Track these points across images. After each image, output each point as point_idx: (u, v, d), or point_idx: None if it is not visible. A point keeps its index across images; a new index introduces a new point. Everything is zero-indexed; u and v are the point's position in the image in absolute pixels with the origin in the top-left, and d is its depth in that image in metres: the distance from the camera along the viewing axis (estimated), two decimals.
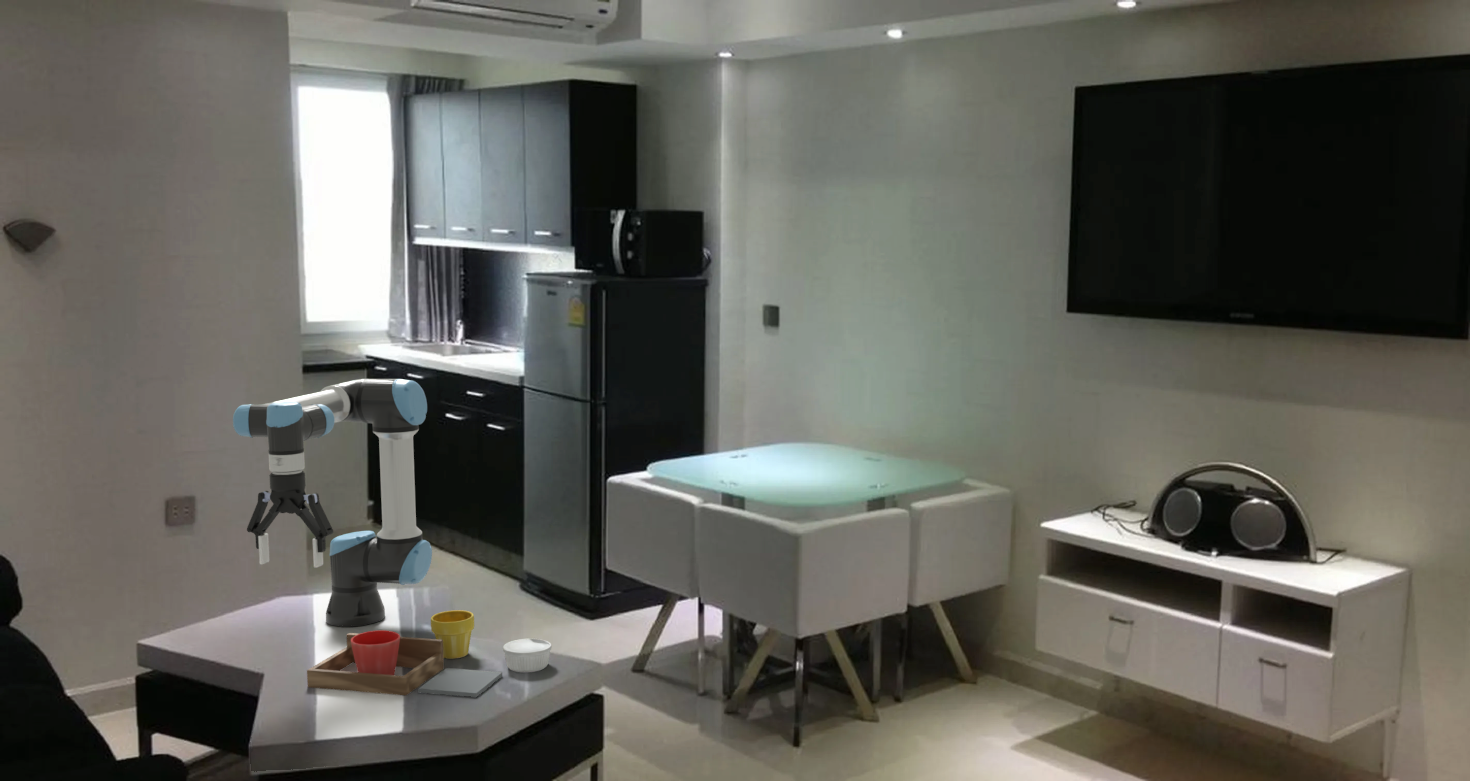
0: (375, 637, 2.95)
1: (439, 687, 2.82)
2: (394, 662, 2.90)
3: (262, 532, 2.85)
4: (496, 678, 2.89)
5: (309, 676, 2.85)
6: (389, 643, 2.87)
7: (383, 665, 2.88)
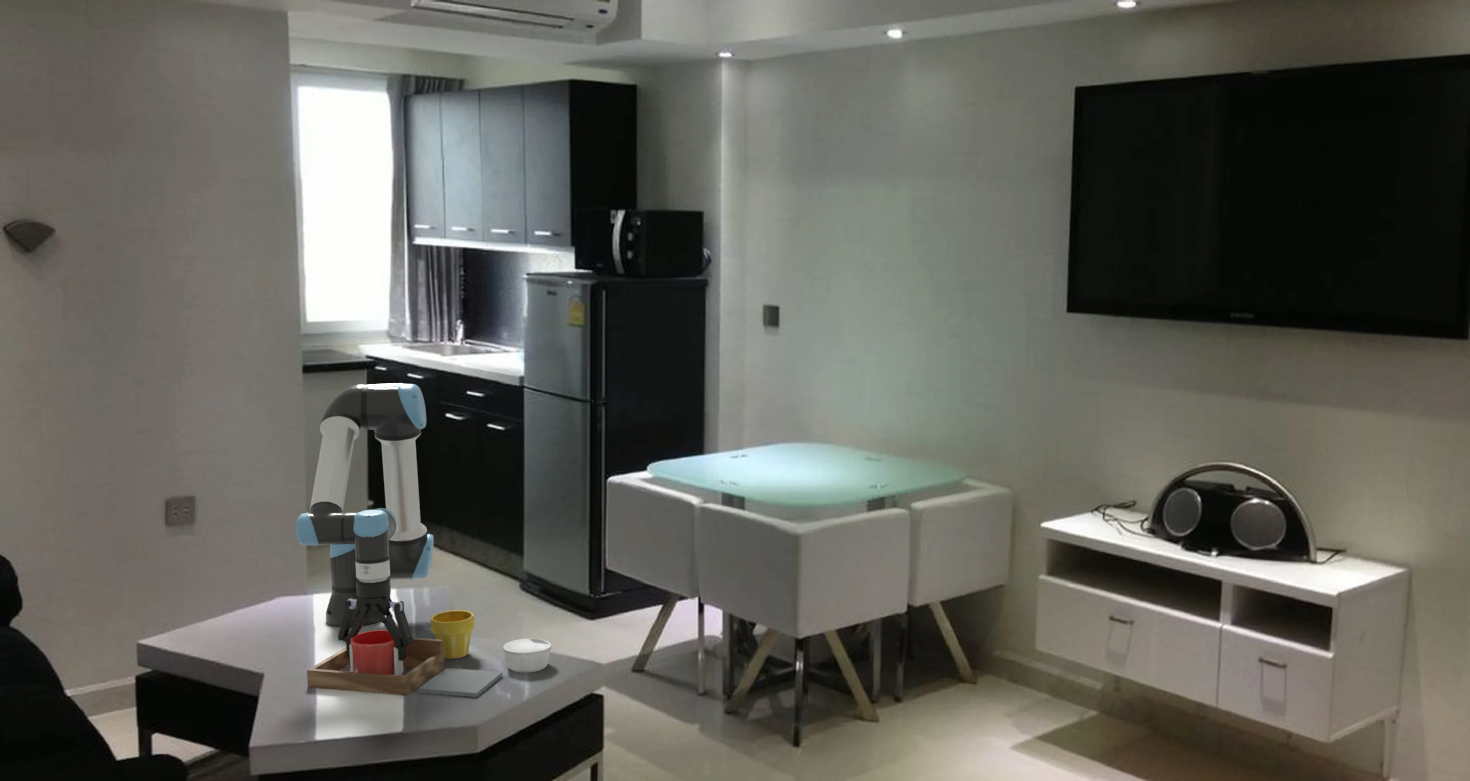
0: (375, 637, 2.95)
1: (439, 687, 2.82)
2: None
3: None
4: (496, 678, 2.89)
5: (309, 676, 2.85)
6: (389, 643, 2.87)
7: (383, 665, 2.88)
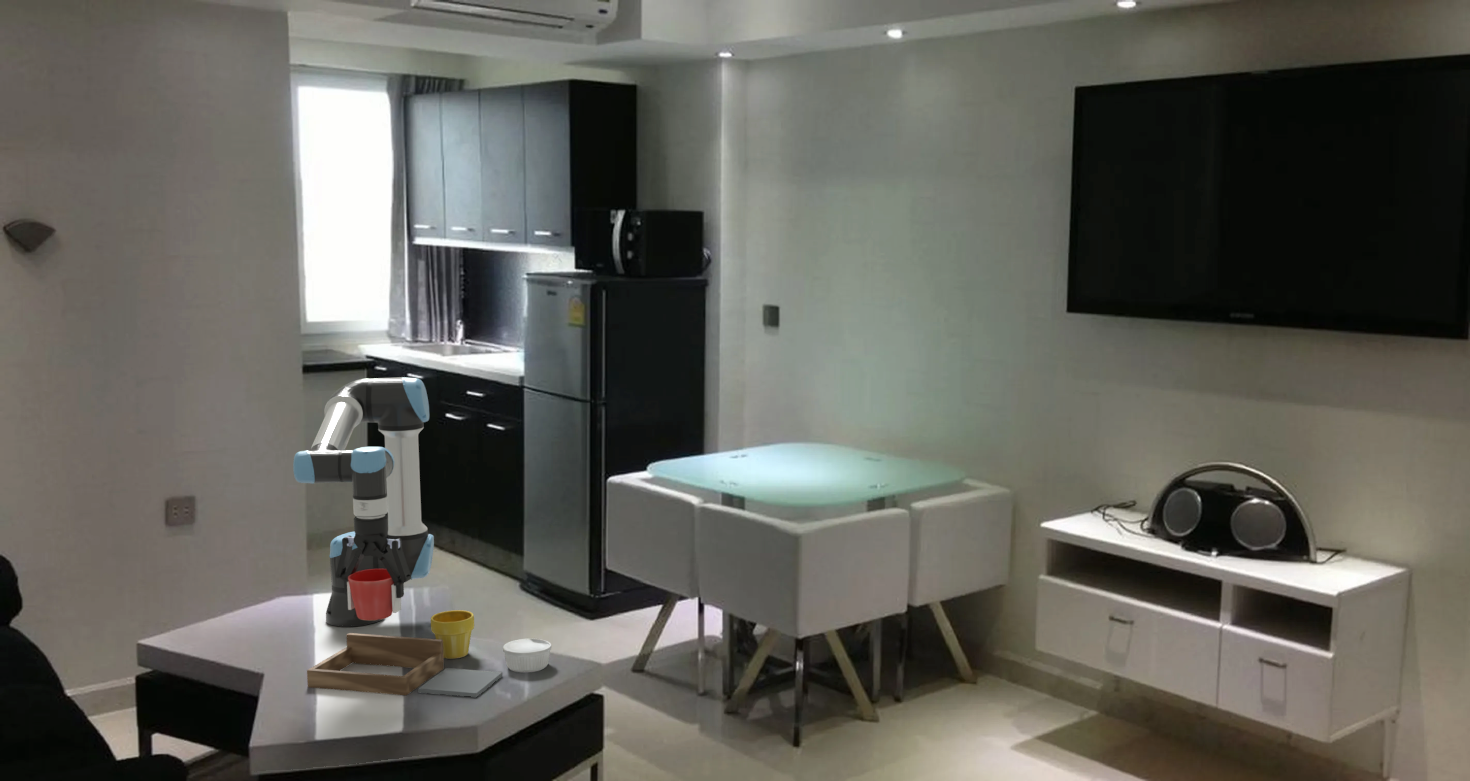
0: (373, 575, 2.94)
1: (439, 687, 2.82)
2: None
3: None
4: (496, 678, 2.89)
5: (309, 676, 2.85)
6: (387, 580, 2.86)
7: (381, 602, 2.86)
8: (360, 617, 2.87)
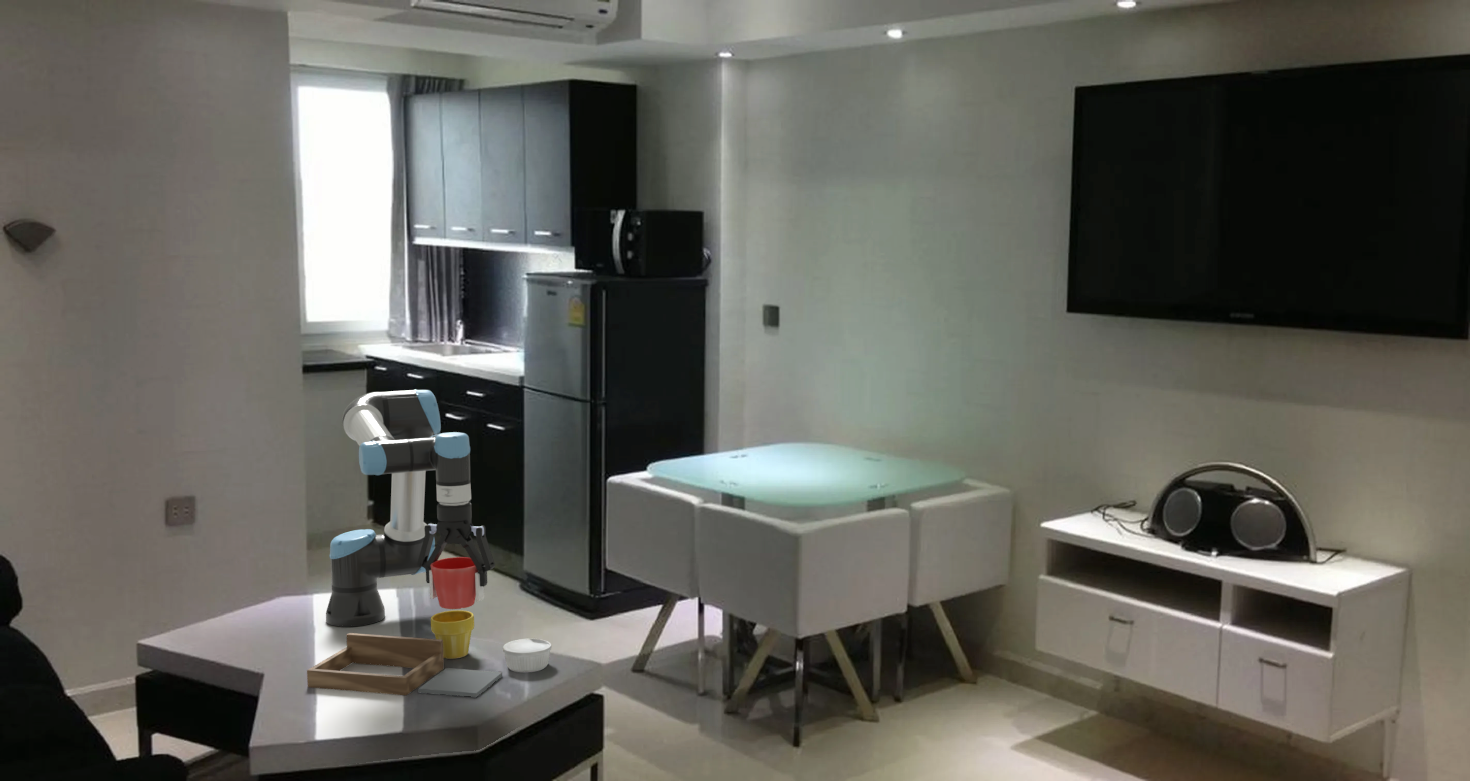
0: (454, 564, 2.88)
1: (439, 687, 2.82)
2: (475, 588, 2.83)
3: None
4: (496, 678, 2.89)
5: (309, 676, 2.85)
6: (470, 568, 2.80)
7: (464, 591, 2.81)
8: (443, 606, 2.82)
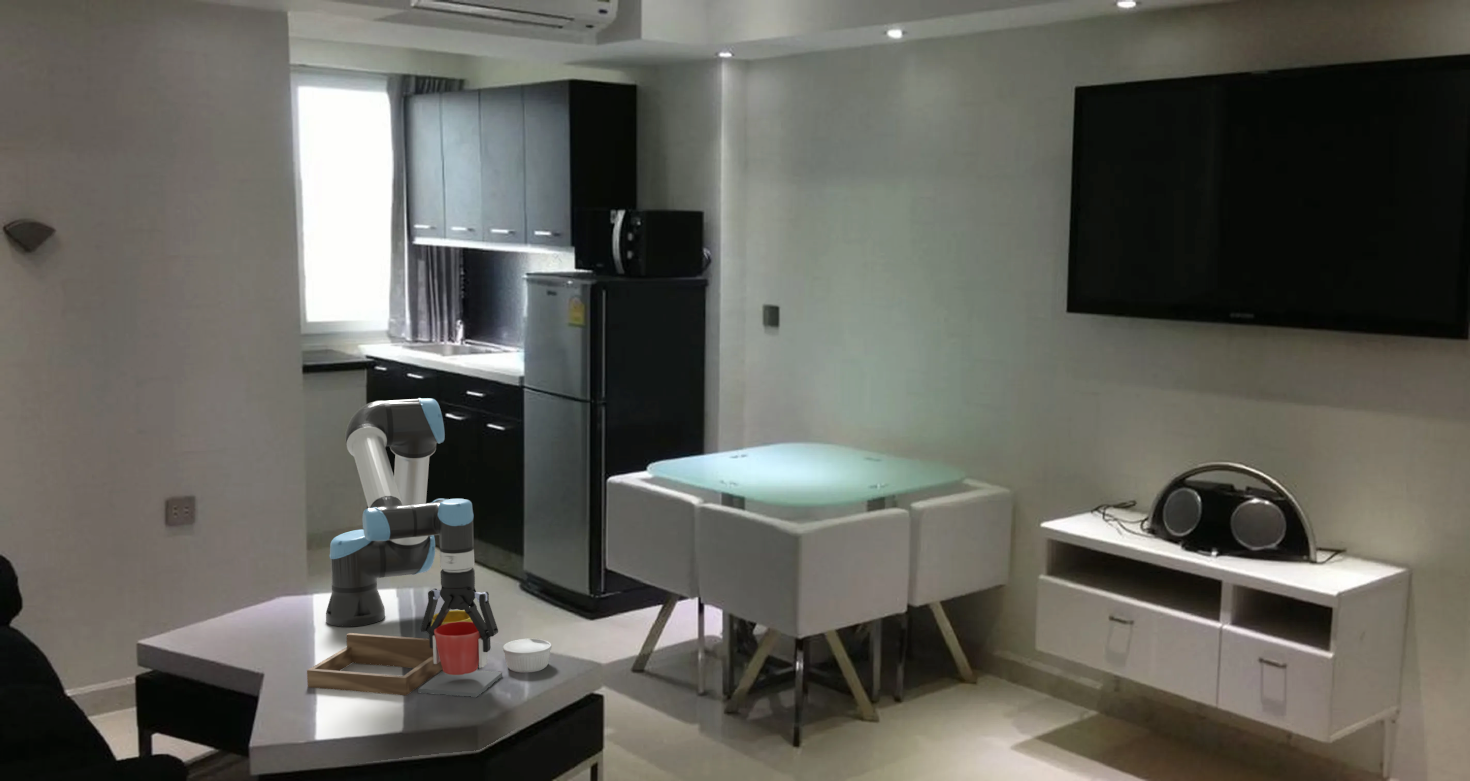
0: (457, 628, 2.90)
1: (439, 687, 2.82)
2: (478, 654, 2.85)
3: None
4: (496, 678, 2.89)
5: (309, 676, 2.85)
6: (474, 634, 2.82)
7: (468, 656, 2.82)
8: (446, 671, 2.83)
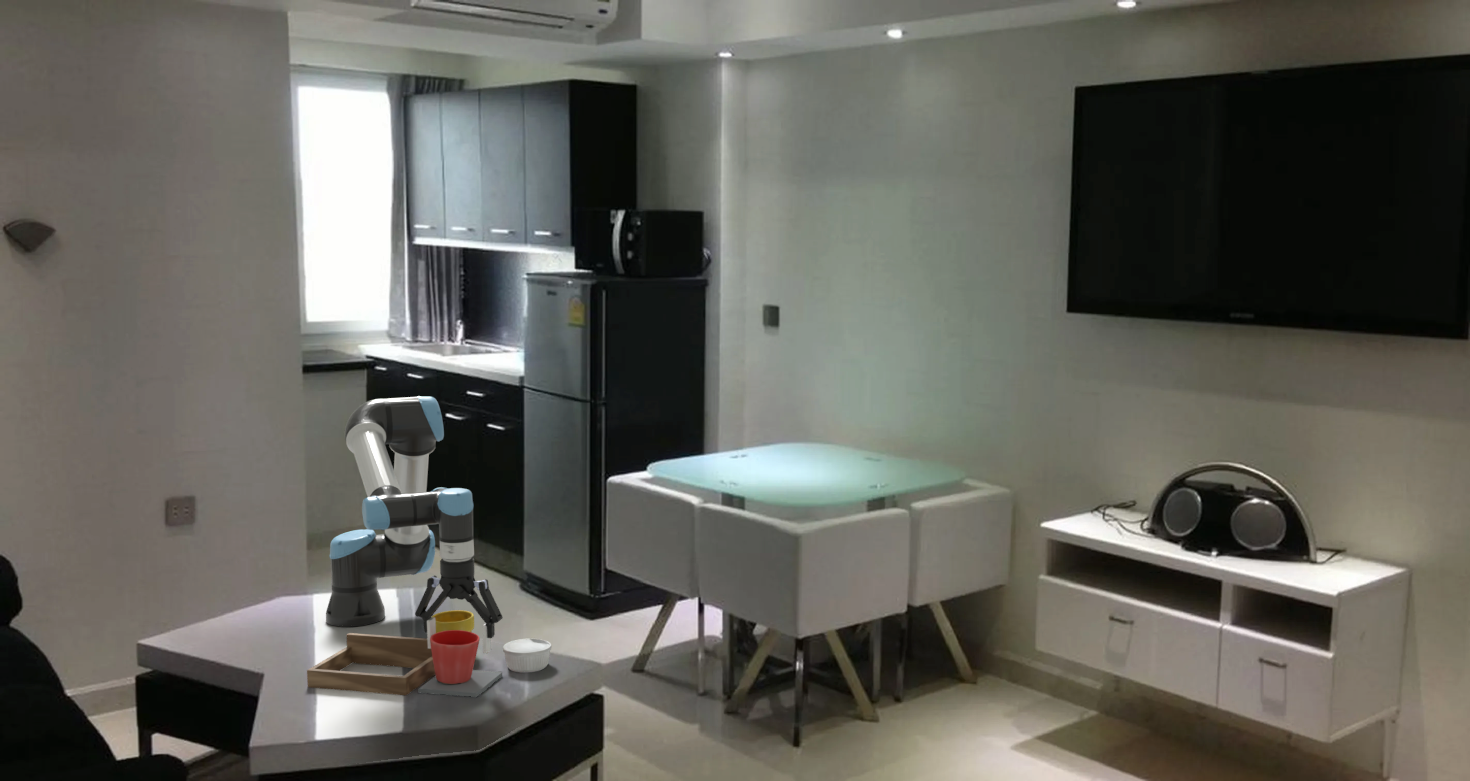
0: (453, 637, 2.91)
1: (439, 687, 2.82)
2: (472, 664, 2.86)
3: (430, 616, 2.87)
4: (496, 678, 2.89)
5: (309, 676, 2.85)
6: (469, 644, 2.83)
7: (462, 666, 2.83)
8: (440, 680, 2.84)
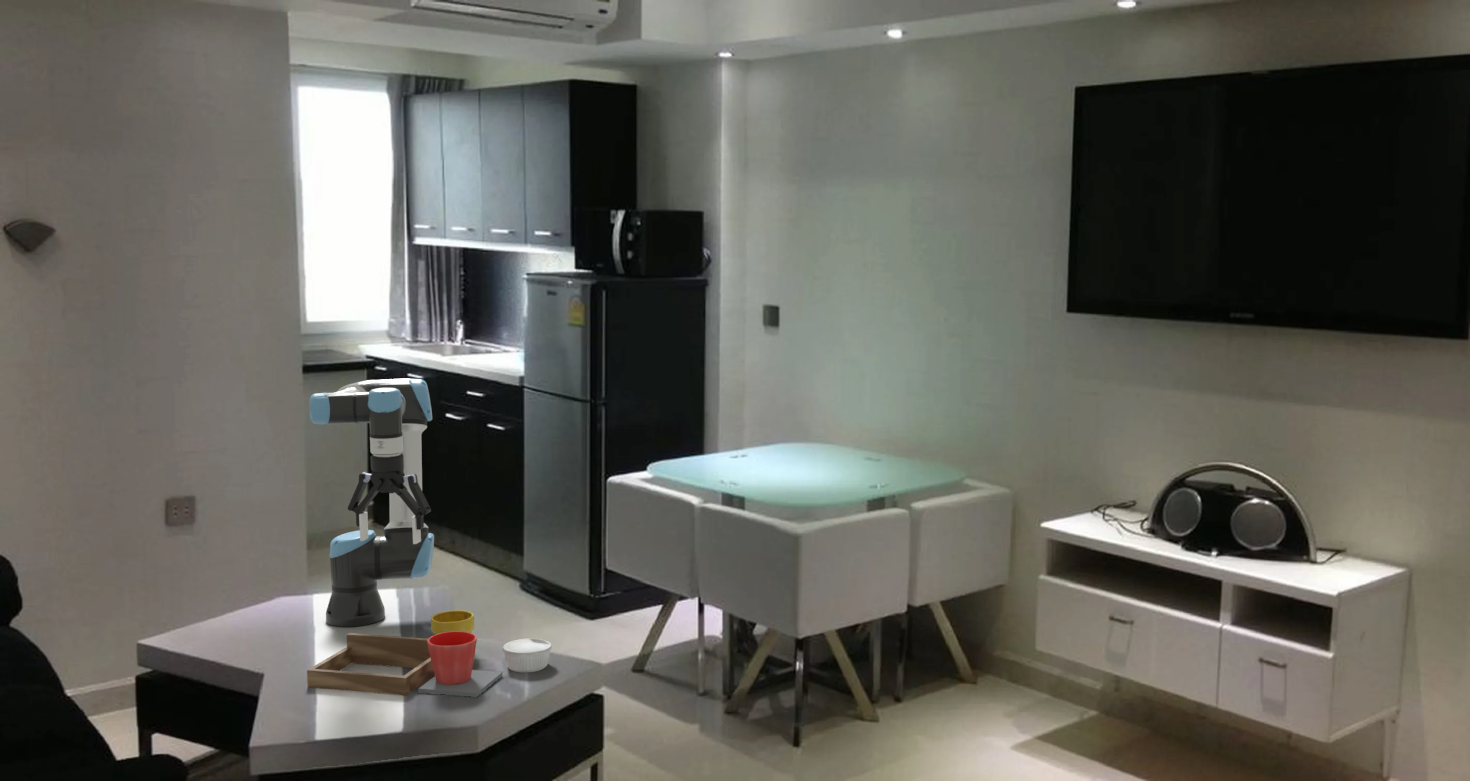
0: (450, 638, 2.91)
1: (439, 687, 2.82)
2: (471, 663, 2.86)
3: (362, 510, 3.02)
4: (496, 678, 2.89)
5: (309, 676, 2.85)
6: (467, 644, 2.83)
7: (461, 666, 2.83)
8: (439, 681, 2.84)
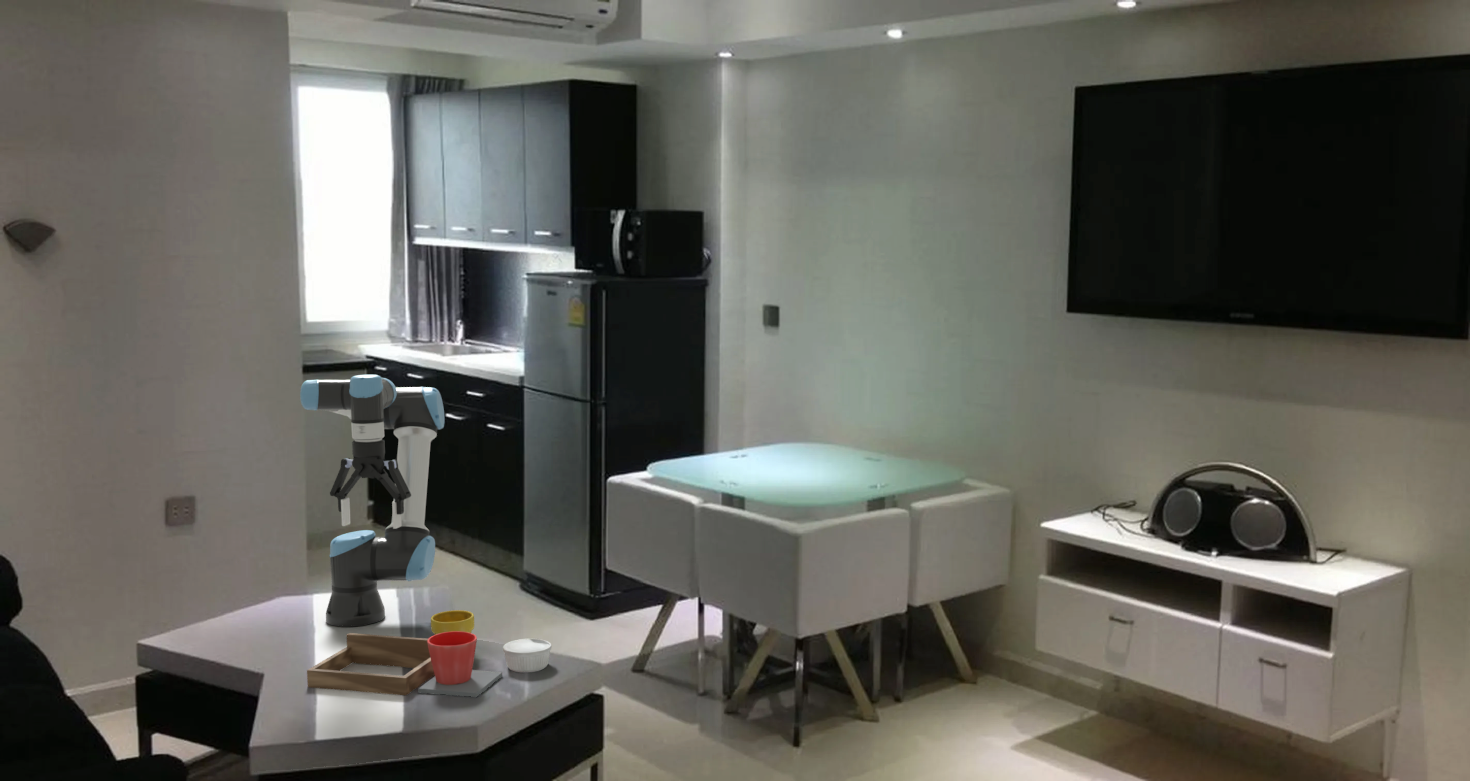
0: (450, 638, 2.91)
1: (439, 687, 2.82)
2: (471, 663, 2.86)
3: (344, 496, 3.07)
4: (496, 678, 2.89)
5: (309, 676, 2.85)
6: (467, 644, 2.83)
7: (461, 667, 2.83)
8: (439, 681, 2.84)
